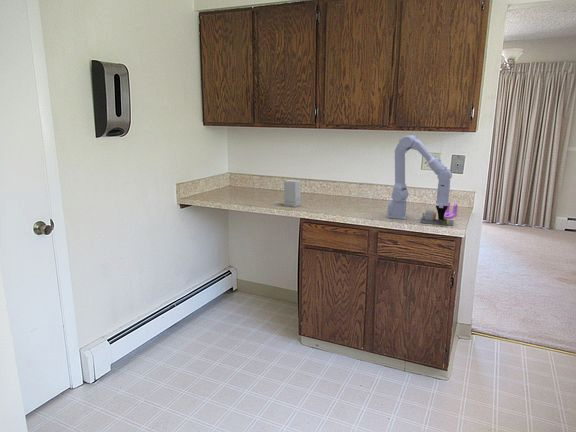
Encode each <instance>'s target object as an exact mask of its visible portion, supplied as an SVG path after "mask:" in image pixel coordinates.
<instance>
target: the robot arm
mask: <svg viewBox="0 0 576 432" xmlns="http://www.w3.org/2000/svg"><path fill="white" fill-rule="evenodd" d="M410 149H411V150H415V151H417V152H418V153H419V154H420V155H421V156H422V157H423V158H424V159H425V160H426V161H427V162H428V163H427V166H428V167H429V168H430V169H431V170H432V171H433V173H434V174H435V175H437V176H436V177H437V180H438V183H437V191H436V192H437V193H436V202H435V204H437V205H435V209H436V212H437V219H439V220H443V218H444V214H445V211H446V209H447V208H448V206H446V205H447V204H450V205H451V204H452V202H449V199H450V189H451V188H450V187H451V179H452V178H453V173H452V171H451V169H448V166H445V164H443V162H442V159H441V158H438V157H434V155H432V153H431V151H429V150H428V148H427V147H426V146H425V145H424V143H423V142H422V141H421V140H420V138H418V136H416V135H414V134H411V135H404V136H402V137H401V138H400V139H399V140H398V144H397V146H396V147H395V149H394V185H393V187H392V192H391V199H392V200H389V201H388V202H387V203H388V205H387V216H386V218H387V219H396V220H397V219H399V220H406V219H407V217H408V215H406V213H407V201H408V200H407V198H408V197H409V191H408V188H407V187H408V186H407V184H406V153H407V152H408V151H409V150H410Z"/></svg>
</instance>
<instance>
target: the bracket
mask: <svg viewBox="0 0 576 432" xmlns="http://www.w3.org/2000/svg"><path fill="white" fill-rule="evenodd" d="M445 206H448V208H447V209H446V211H445V214H444V217H447V218H446V219H448V220H453V219H454V218H455V217H457V215H458V207H459V205H458V203H453V206H452V212H451V211H450V207H451V204H447V205H445Z"/></svg>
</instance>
